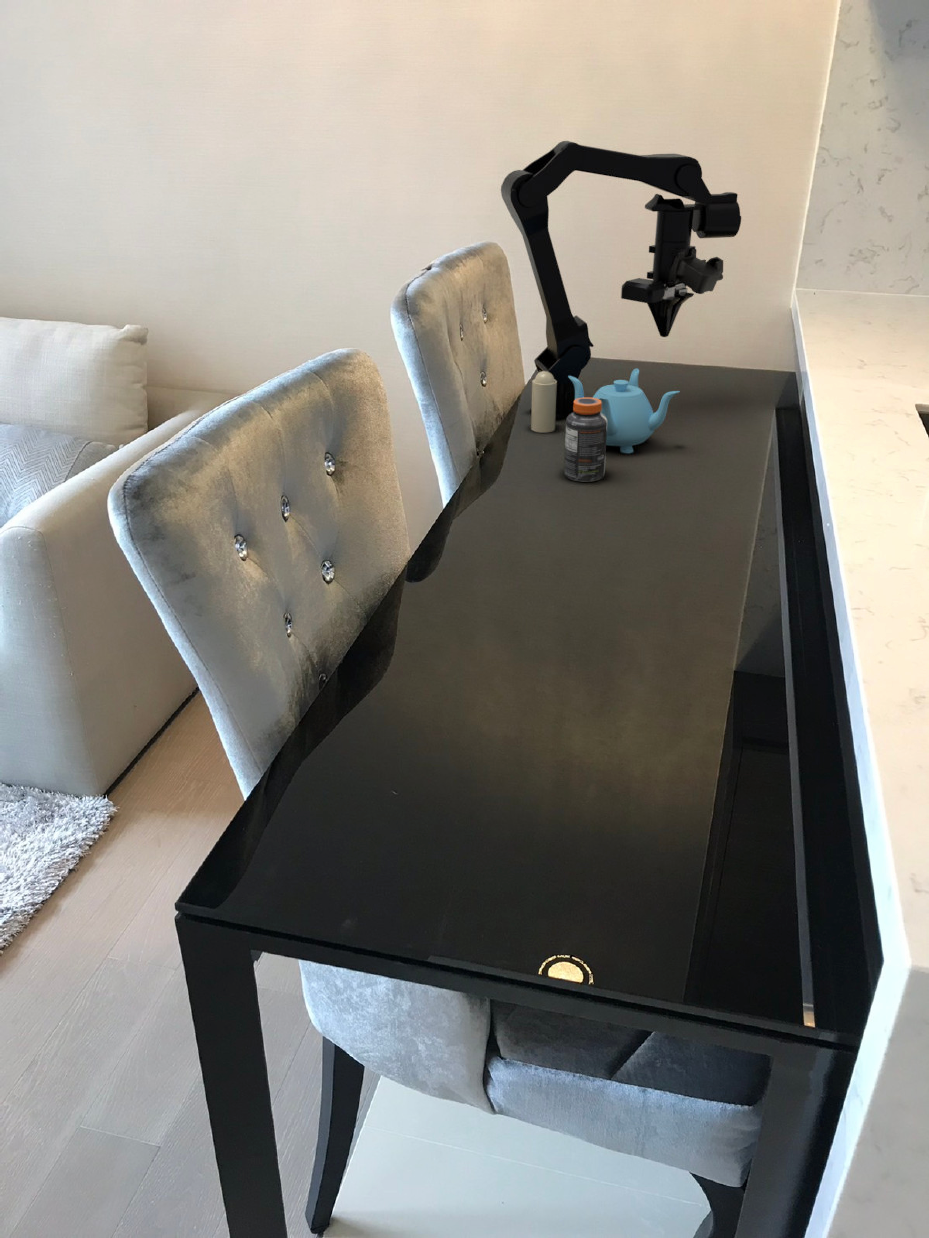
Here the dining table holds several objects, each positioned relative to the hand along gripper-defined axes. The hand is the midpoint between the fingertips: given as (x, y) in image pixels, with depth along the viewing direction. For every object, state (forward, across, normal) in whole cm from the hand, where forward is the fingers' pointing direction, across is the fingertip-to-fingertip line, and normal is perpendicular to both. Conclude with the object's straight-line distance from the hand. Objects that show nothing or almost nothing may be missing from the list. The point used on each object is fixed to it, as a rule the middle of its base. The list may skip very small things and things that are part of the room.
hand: (664, 336), depth 170 cm
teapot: (+12, -21, -7) cm, 25 cm away
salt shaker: (+12, -24, +6) cm, 27 cm away
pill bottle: (+12, -35, -12) cm, 39 cm away
